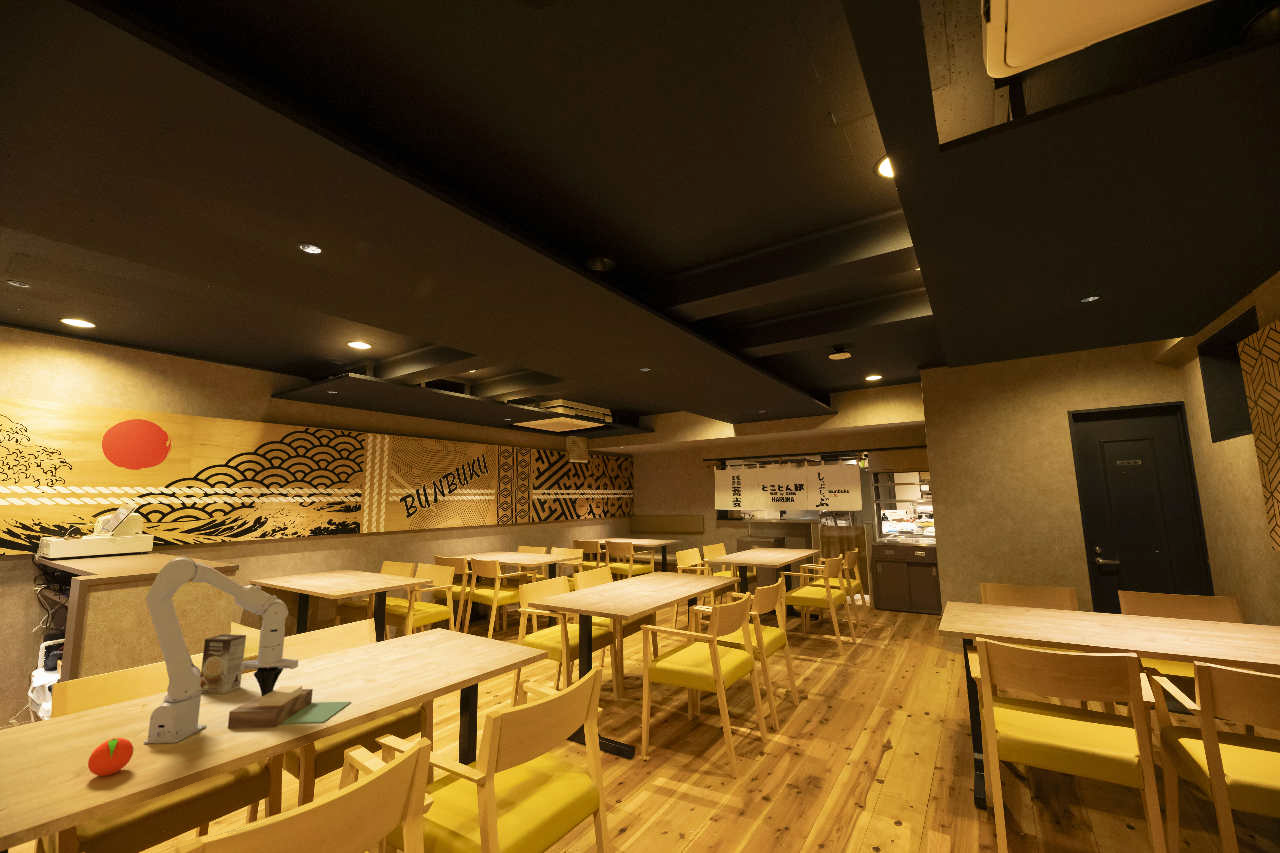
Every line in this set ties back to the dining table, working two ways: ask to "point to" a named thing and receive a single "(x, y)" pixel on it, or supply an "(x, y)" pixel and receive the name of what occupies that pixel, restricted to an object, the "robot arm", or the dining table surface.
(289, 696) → the tile
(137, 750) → the dining table surface
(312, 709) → the mat
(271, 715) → the brown wooden block
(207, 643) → the coffee box
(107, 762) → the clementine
